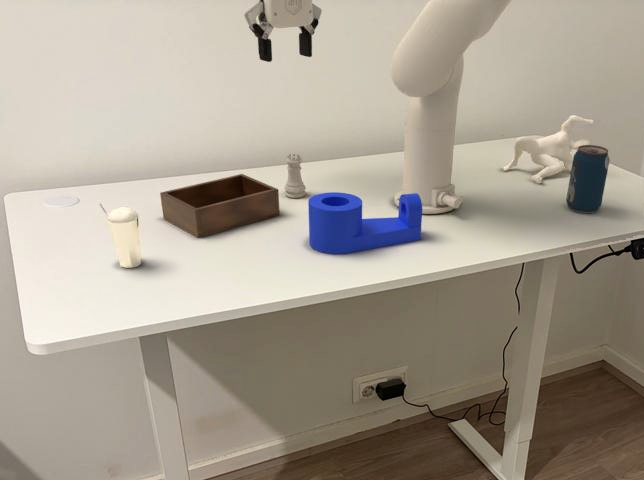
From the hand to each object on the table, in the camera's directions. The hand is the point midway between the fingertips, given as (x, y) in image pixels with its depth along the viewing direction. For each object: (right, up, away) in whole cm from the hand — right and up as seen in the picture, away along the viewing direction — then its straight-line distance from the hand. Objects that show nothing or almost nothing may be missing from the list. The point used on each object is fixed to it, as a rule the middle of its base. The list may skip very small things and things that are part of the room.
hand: (286, 58), depth 143 cm
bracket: (+16, -38, -13) cm, 43 cm away
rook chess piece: (+1, -26, +5) cm, 26 cm away
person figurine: (+56, -16, +25) cm, 63 cm away
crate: (-11, -32, -7) cm, 35 cm away
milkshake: (-21, -44, -25) cm, 55 cm away
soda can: (+59, -28, +5) cm, 66 cm away
